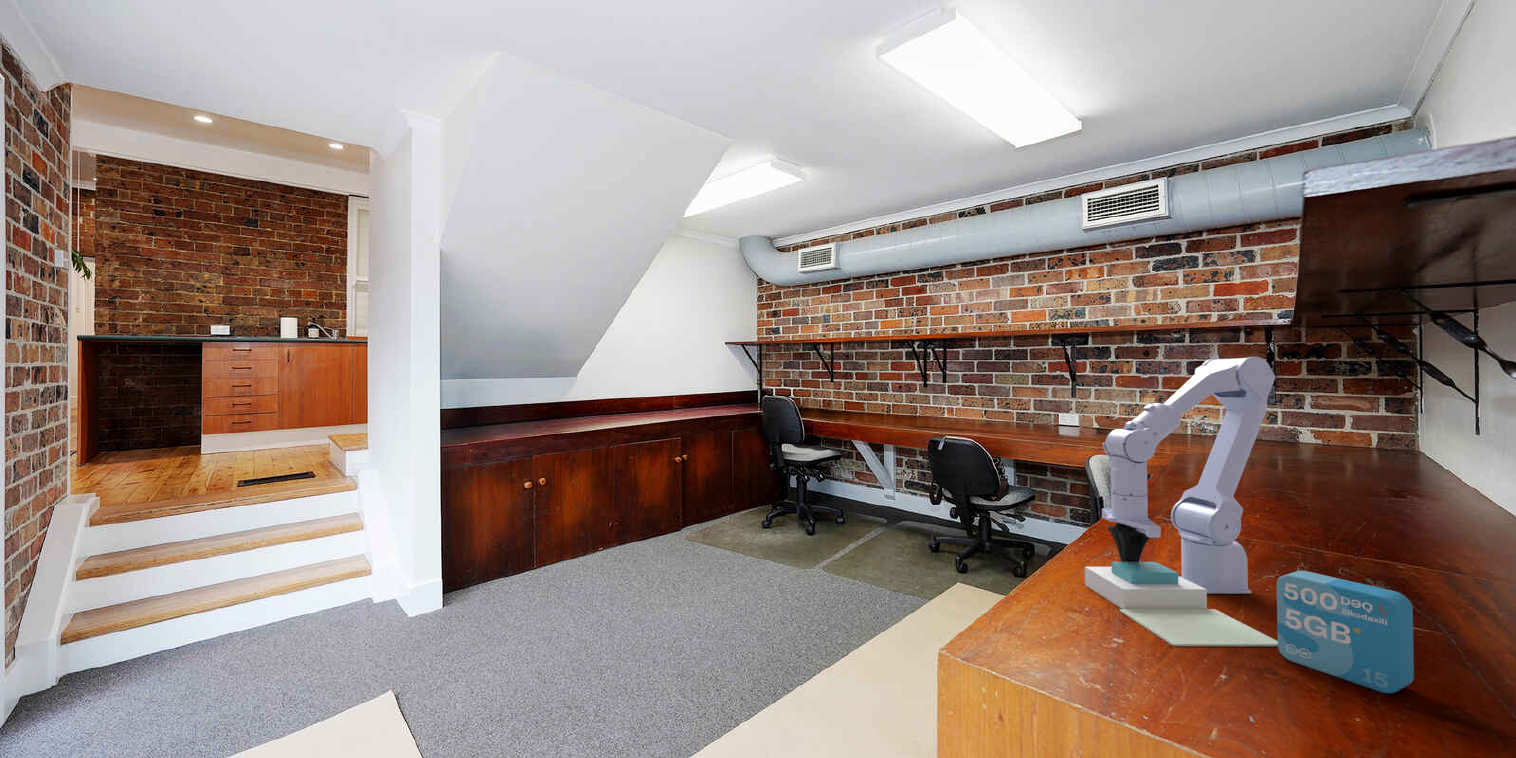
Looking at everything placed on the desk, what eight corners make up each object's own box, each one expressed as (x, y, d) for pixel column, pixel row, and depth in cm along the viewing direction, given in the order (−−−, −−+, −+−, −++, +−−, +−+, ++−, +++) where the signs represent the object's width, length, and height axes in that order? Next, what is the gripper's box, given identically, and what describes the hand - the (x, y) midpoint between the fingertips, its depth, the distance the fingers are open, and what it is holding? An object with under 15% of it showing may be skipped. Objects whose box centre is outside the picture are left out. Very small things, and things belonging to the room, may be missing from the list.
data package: (1277, 657, 81) (1275, 572, 81) (1293, 650, 83) (1291, 567, 83) (1399, 699, 70) (1398, 600, 70) (1414, 690, 72) (1413, 594, 72)
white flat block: (1159, 585, 109) (1158, 566, 109) (1206, 609, 97) (1206, 589, 97) (1085, 584, 110) (1084, 566, 110) (1123, 609, 98) (1123, 589, 98)
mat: (1215, 611, 97) (1215, 609, 97) (1283, 646, 84) (1283, 644, 84) (1119, 610, 97) (1119, 609, 97) (1173, 646, 84) (1173, 644, 84)
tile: (1155, 572, 106) (1155, 562, 106) (1178, 584, 100) (1178, 572, 100) (1111, 572, 106) (1111, 561, 106) (1131, 583, 100) (1131, 572, 100)
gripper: (1086, 486, 114) (1086, 554, 114) (1131, 501, 100) (1132, 579, 100) (1122, 486, 114) (1122, 554, 114) (1172, 501, 100) (1173, 579, 100)
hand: (1129, 566), depth 107 cm, fingers closed
